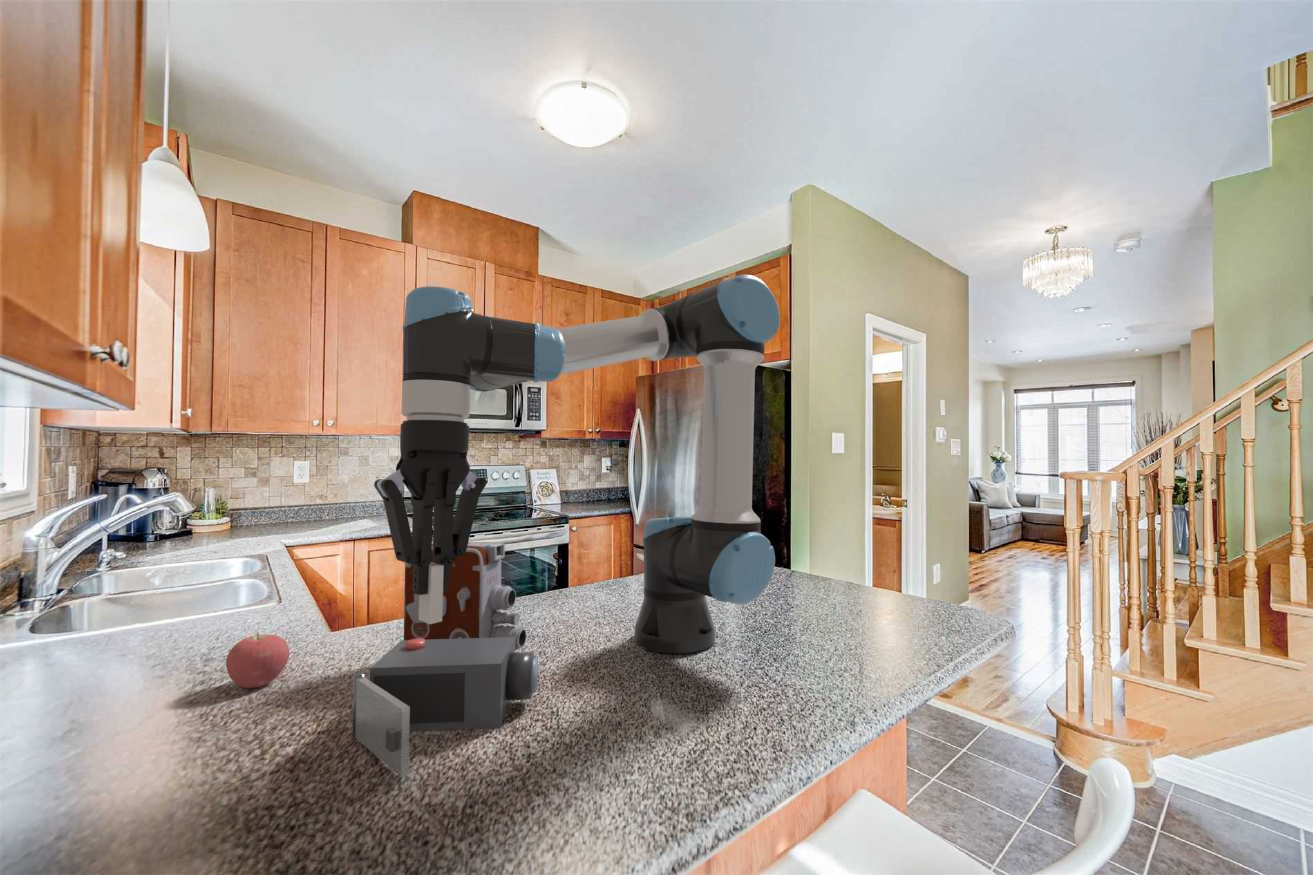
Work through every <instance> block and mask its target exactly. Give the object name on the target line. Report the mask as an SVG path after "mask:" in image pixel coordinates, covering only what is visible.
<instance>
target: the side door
mask: <svg viewBox="0 0 1313 875" xmlns="http://www.w3.org/2000/svg"><path fill="white" fill-rule="evenodd" d="M352 690H353V691H352V692H353V693H352V695H353V696H352V698H353V699H352V700H353V701H352V737H355V739H356V740H357V741H358V742H359V743H360V744H362V745H363V746H364V747H365V748H366V749H367V750H369V751H370V752H371V753H372V754H373V755H374V756H376V757H377V758H378V759H379V760H380V761H381V762H383V763H384V764H385V765H387V767H389V769H391V770H392V771H393V772H395V773H396V774H397V775H398V776H399V777H400V778H402V777H404V776H407V775H408V774H409V770H410V732H409V722H410V707H409V706H408V705H406V704H405V703H403V702H402V701H400V700H399V699H397V698H395V697H394V696H392V695H391V694H389V693H388V692H386V691H385V690H383V689H382V688H380V687H379V686H377V685H375V684H374V683H372V682H371V681H370V679H368V678H366V672H365V671H359V672H356V673H354V674H353V687H352Z"/></svg>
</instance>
